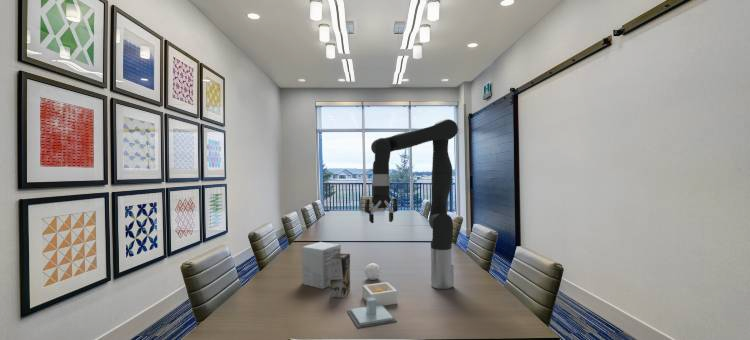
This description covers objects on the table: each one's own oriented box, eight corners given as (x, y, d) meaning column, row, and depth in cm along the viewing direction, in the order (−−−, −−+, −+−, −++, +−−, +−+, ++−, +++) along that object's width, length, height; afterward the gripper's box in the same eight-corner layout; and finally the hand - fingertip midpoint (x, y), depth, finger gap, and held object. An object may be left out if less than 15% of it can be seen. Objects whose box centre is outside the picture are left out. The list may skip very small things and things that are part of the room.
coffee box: (344, 298, 135) (344, 258, 136) (329, 296, 137) (329, 258, 137) (350, 290, 144) (350, 253, 144) (336, 289, 146) (336, 252, 146)
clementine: (382, 295, 135) (382, 286, 135) (385, 298, 131) (385, 289, 131) (373, 296, 134) (373, 288, 134) (376, 300, 130) (376, 290, 130)
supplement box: (341, 281, 157) (341, 244, 157) (323, 289, 146) (323, 249, 146) (320, 276, 164) (320, 241, 164) (301, 284, 153) (301, 246, 153)
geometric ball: (369, 286, 158) (359, 273, 156) (373, 275, 165) (363, 263, 163) (382, 280, 155) (372, 267, 153) (385, 269, 162) (375, 257, 161)
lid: (381, 306, 125) (381, 291, 125) (393, 319, 114) (393, 303, 114) (350, 311, 121) (350, 295, 121) (360, 325, 110) (359, 307, 110)
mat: (382, 306, 127) (382, 305, 127) (396, 321, 113) (396, 320, 113) (347, 311, 122) (347, 310, 122) (357, 328, 109) (357, 327, 109)
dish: (387, 293, 140) (387, 282, 140) (397, 303, 129) (397, 290, 129) (362, 297, 136) (362, 285, 136) (370, 307, 126) (370, 294, 126)
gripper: (393, 184, 148) (393, 220, 148) (362, 184, 143) (363, 222, 143) (399, 184, 141) (400, 222, 140) (368, 185, 136) (368, 224, 136)
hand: (381, 222), depth 142 cm, fingers open, 8 cm apart
